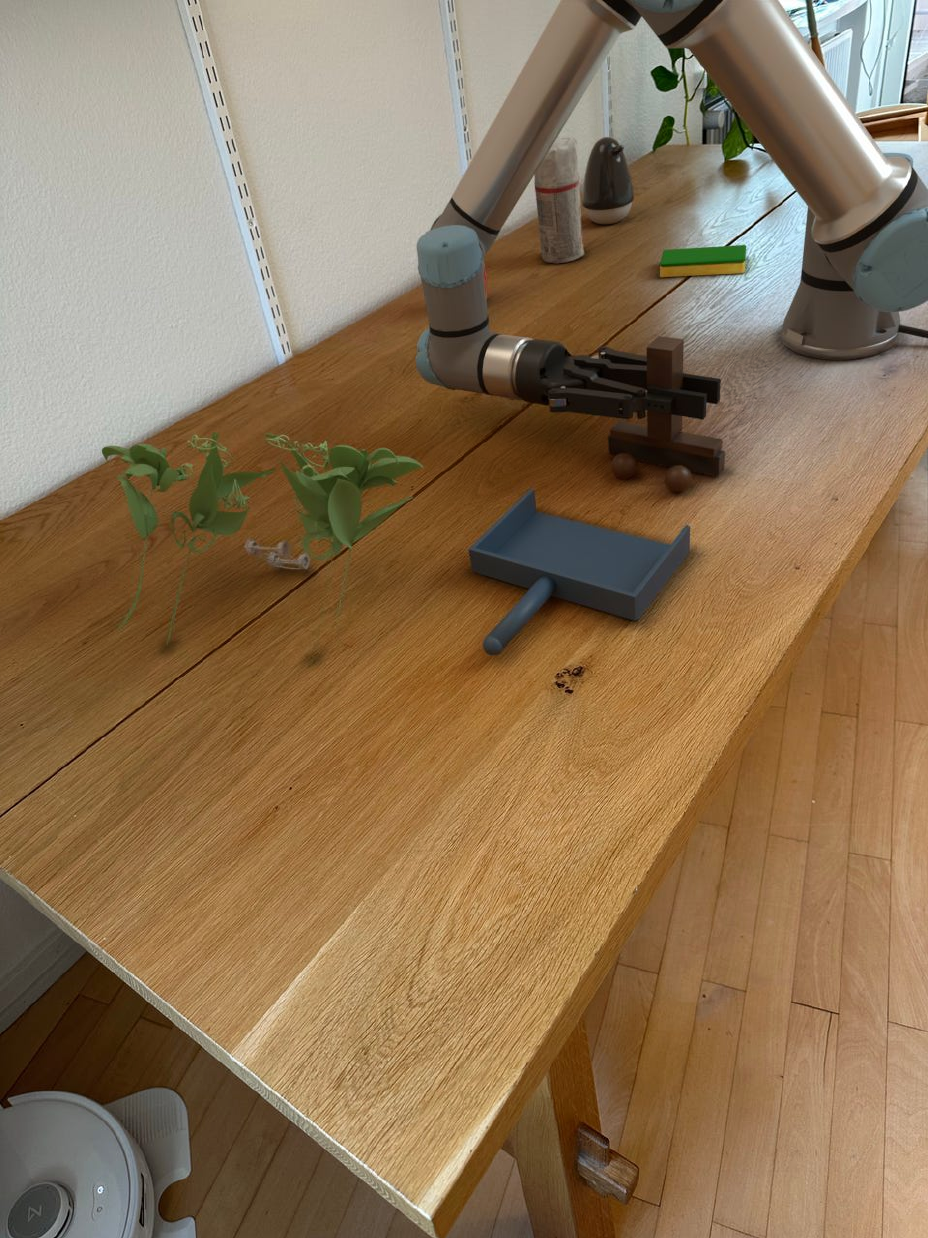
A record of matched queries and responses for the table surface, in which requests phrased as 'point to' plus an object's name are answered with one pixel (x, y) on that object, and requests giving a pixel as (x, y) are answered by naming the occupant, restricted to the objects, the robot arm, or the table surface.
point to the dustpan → (571, 566)
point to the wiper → (667, 421)
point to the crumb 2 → (678, 478)
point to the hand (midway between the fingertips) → (711, 398)
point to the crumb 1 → (623, 465)
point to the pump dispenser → (607, 183)
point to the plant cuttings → (321, 495)
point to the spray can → (559, 203)
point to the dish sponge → (703, 261)
